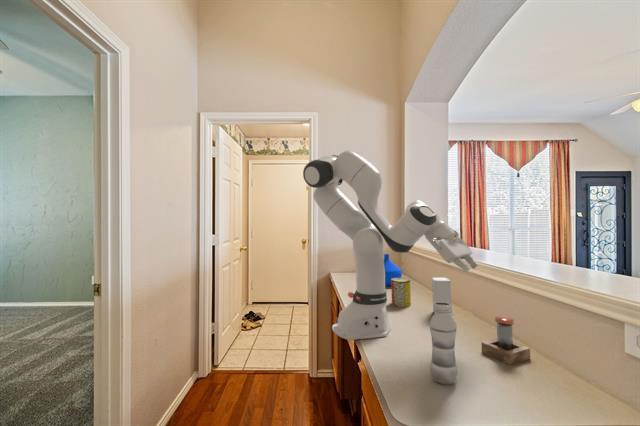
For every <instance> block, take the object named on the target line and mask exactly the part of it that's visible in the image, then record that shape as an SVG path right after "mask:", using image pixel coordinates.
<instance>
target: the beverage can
mask: <svg viewBox="0 0 640 426" xmlns="http://www.w3.org/2000/svg"><path fill="white" fill-rule="evenodd" d="M390 287H391V305H393V306H395V307H398V308H407V307H410V306H412V299H411V297H412V296H411V295H412V294H411V279H409V278H405V277H401V278H393V279H391V286H390Z"/></svg>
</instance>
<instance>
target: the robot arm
mask: <svg viewBox="0 0 640 426" xmlns="http://www.w3.org/2000/svg"><path fill="white" fill-rule="evenodd" d="M302 172H303V173H302V176H303V181H305V183H306V184H307V186H309V187H311V188H315V190H314V192H313V199H314V201H315V203H316V205H317V206H318V207H319V209H320V210H321V211H322V212H323V214H324V215H325V216H326V217H327V218H328V219H329V221H331V222H332V223H333V225H335V227H336V228H338V230H340V231H341V232H342V233H343V234H345V235H346V236H347V237H348V238H349V239H350V240H352V247H353V248H352V249H353V257H354V258H353V259H354V264H355V278H356V279H355V280H356V289H355V292H354V293H353V292H351V291H348V293H347V296H348V297H349V298H350V299H352V301H351V302H350V303H349V304H347V306H345V307H344V308H343V309H342V310H341V311H340V312H339V313H338V318H337V323H334V324H332V327H331V329H332V331H333V333H334V334H335V335H336V336H338V337H340V338H342V339H344V340H347V341H353V340H363V339H372V338H384V337H387V336H388V335H389V334H388V333H389V332H390V330H391V325H390V322H389V317H388V312H387V297H388V295H387V290H386V286H385V269H384V247H385V245H387V246H388V247H389V248H390V250H392V251H393V252H395V253H398V254H400V253H409V252H410V250H412V249H413V246H415V244H416V243H417V242H418V241H419V240H420V239H421V238H422V237H423V236H424V237H425V239H426V240H427V242H429V244H430V245H431V246H432V247H433V248H434V249H435V250H436V252H437V253H438V254H439V256H441V258H442V259H443V260H444V261H445V262H446V263H448V264H451V263H453V264H455V265H456V266H457V267H459V268H460V269H461V270H462V271H463V272H464V273H467V272H469V271H470V270H471V269H473V270H474V269H476V268H477V267H478V266H479V265H478V264H477V263H476V261H475V260H474V258H473V256H471V255H473V251H472V248H470V247H469V245H468V244H467V243H466V242H465V241H464V240H463V238H461V237H460V233H458V231H457V230H455V229H453V228H452V227H450V225H449V224H448V223H447V222H445V221H443V220H442V219H441V218H440V216H439V214H438V213H437V212H435V211H434V209H432V208H431V207H430V206H429V205H427V204H426V203H425V202H424V201H421V200H415V201H413V202H411V203H409V205H407V207H406V208H405V211H404V213H403V214H402V215H401V217H400V218H399V219H398V220H397V221H396V222H395V224H394V225H392V224H391V223H390V222H389V220H388V219H387V218H386V217H385V216H384V215H383V213H382V212H381V211H380V210H379V206H378V200H379V196H380V192H381V189H382V183H383V180H382V176H381V173H380V171H379V170H378V169H377V168H376V167H375V166H374V165H373V164H372V163H371V162H369V161H368V160H366V158H364V157H362V156H361V155H359V154H357V153H355V152H354V151H352V150H345V151H342V152H341V153H339V154H338V155H335V154H333V155H329V156H327V155H326V156H323V157H320V158H317V159H313V160H311V161H309V162H308V163H306V164H305V166H304V167H303V171H302ZM343 181H344V182H345V183H346V184H347V185H348V186H350V187H351V188H352V190H353V191H354V192H355V195H356V197H357V204H358V206H359V208H360V210H359V208H358V207H357V206H355V204H354V203H353V202H352V201H351V200H349V198H347V196H346V195H345V194H344V193H343V192H342V191H341V190H340V188H339V185H342V183H343ZM463 260H464V261H466V263H468V264H466V263H465V262H464V261H463Z"/></svg>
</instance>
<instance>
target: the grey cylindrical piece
mask: <svg viewBox="0 0 640 426" xmlns="http://www.w3.org/2000/svg"><path fill="white" fill-rule="evenodd" d="M494 319H495V320H494V321H495V323H496V336H497V337H496V338H497V345H498V347H500V348H503V349H505V350H507V351H509V350H512V349H513V342H514V339H513V325H514V323H515V321H514V319H513V318H512V317H509V316H508V317H507V316H501V315H499V316H495V317H494Z"/></svg>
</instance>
